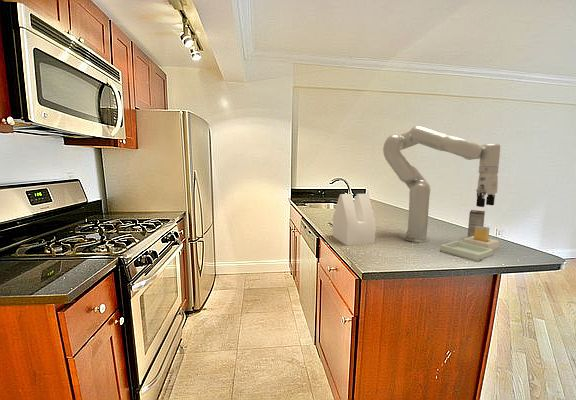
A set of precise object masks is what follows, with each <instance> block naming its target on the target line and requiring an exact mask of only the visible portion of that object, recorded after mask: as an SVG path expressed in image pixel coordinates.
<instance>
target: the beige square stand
mask: <svg viewBox="0 0 576 400" xmlns="http://www.w3.org/2000/svg"><path fill="white" fill-rule="evenodd" d="M462 242H463V243H467V244H471V245H476V246H480V247H484V248H488V249H493V250H494V251H495V250H497V249H499V245H500V241H499V240H497V239H492V238H488V242H483V241H479V240H474V236H472V237H468V238H467V237H465V238H463V239H462Z"/></svg>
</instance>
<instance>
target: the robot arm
mask: <svg viewBox="0 0 576 400" xmlns="http://www.w3.org/2000/svg"><path fill="white" fill-rule="evenodd" d="M416 145H422V146H425V147H427V148H430V149H433V150H437V151H439V152H445V153H449V154H451V155H452V154H453V155H456V156H458V157H462V158H463V159H464V160H468V161H471V160H472V161H473V160H479V162H478V163H479V165H478V174H479V175H478V179H477V180H478V181H477V188H476V189H475V190H476V203H475V204H476V207H479V208H480V207H481V208H484V207H486V206H485V205H487V206H494V205H495V199H496V194H497V193H498V182H499V180H498V177H499V176H498V174H499V168H500V167H499V165H500V158H501V157H500V156H501V144H499V143H484V144H478V143H475V142H473V141H468V140H467V139H464V138H460V137H457V136H452V135H450V134H447V133H444V132H440V131H438V130H435V129H433V128H432V129H431V128H428V127H425V126H423V125H415V126H413V127H412V128H411V129H410V130H408V131H407V132H403V133H401V134H396V133H395V134H391V135H389V136H388V137H387V138H386V140H385V142H384V144H383V148H382V151H383V156H384V159H385V160H386V162H387V164H388V165H389V166H390V167H391V169H392V170H393V172H394V173H395V174H396V176H397V177H398V179H399V180H400V181H401V182H403V183H404V184H405V185H406V186H407V188H408V189H409V193H408V195H409V197H408V198H409V199H408V200H409V201H408V202H409V203H408V219H407V220H408V221H407V231H406V233H404V234H402V238H403V239H404V240H406V241H408V242H412V243H413V242H414V243H427V242H430V240H431V239H430V237H428V236H427V233H428V223H429V222H428V221H429V220H428V219H429V208H430V207H429V206H430V195H431V185H430V184H429V183H428V182H427V180H426V179H425V177H424V175H422V174H421V173H420V172H419V170H418V168H416V167H415V166H414V165H411V163H410V162H409V161H408V160H407V158H406V157H405V155H403V153H402V152H401V151H402V150H405V149H409V148H410V147H413V146H416ZM485 197H486V198H485Z"/></svg>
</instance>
